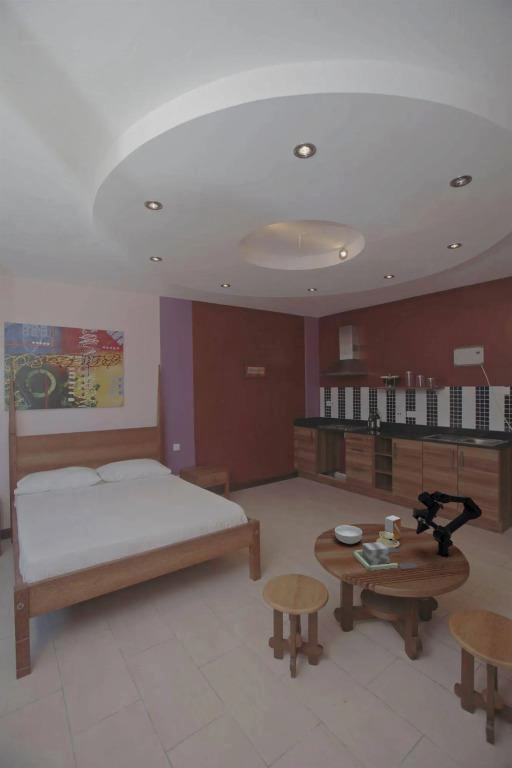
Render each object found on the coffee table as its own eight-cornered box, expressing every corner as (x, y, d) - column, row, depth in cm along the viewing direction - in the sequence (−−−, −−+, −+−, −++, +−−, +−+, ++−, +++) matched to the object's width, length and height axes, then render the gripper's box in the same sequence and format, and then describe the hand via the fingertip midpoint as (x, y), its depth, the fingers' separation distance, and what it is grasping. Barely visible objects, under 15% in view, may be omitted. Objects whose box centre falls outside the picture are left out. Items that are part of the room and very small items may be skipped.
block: (382, 556, 205) (381, 541, 204) (389, 563, 197) (389, 548, 197) (362, 558, 202) (362, 543, 202) (369, 565, 195) (369, 550, 195)
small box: (393, 541, 224) (393, 520, 223) (384, 537, 229) (384, 517, 229) (401, 538, 228) (401, 518, 228) (392, 534, 233) (392, 514, 233)
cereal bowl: (344, 533, 236) (344, 522, 236) (367, 541, 223) (367, 530, 223) (329, 541, 224) (329, 530, 224) (352, 550, 212) (352, 538, 212)
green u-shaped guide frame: (394, 548, 214) (394, 545, 214) (418, 567, 192) (418, 564, 192) (351, 552, 209) (351, 549, 209) (370, 573, 187) (370, 569, 187)
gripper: (412, 499, 215) (398, 521, 213) (428, 505, 196) (413, 529, 194) (427, 510, 214) (413, 532, 212) (445, 518, 196) (430, 542, 194)
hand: (416, 533), depth 203 cm, fingers closed
